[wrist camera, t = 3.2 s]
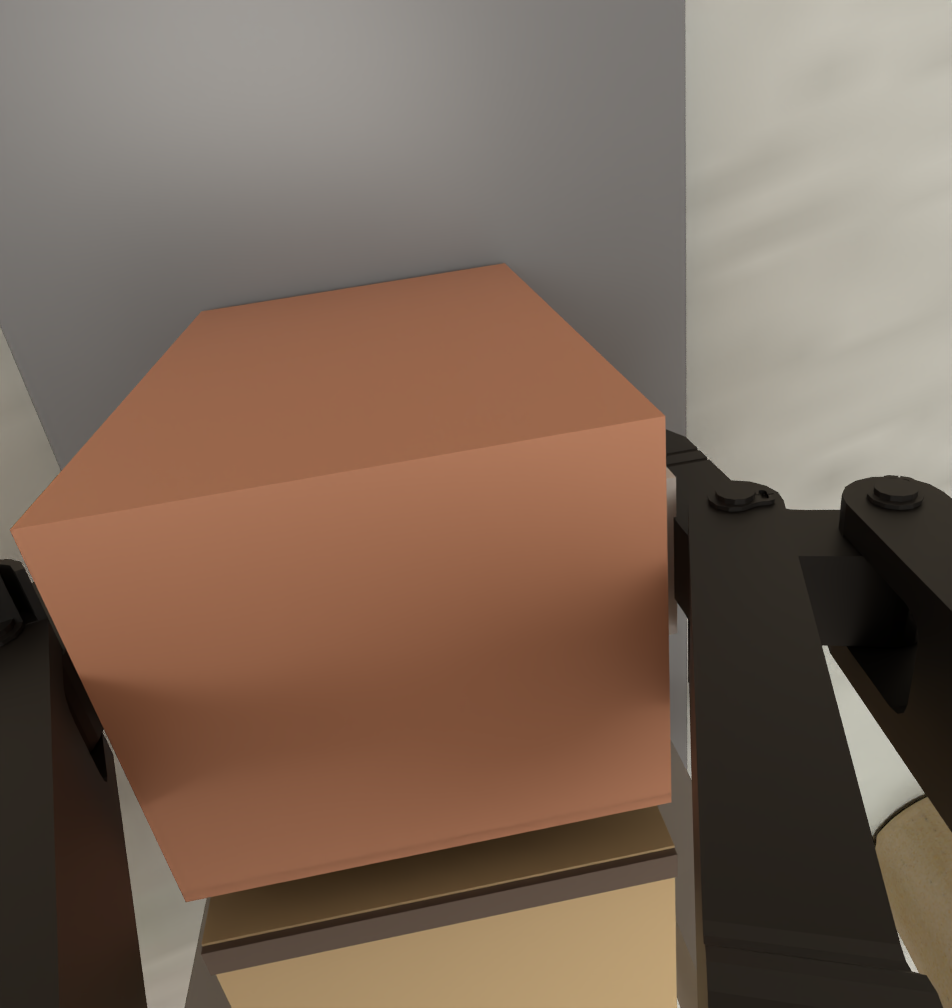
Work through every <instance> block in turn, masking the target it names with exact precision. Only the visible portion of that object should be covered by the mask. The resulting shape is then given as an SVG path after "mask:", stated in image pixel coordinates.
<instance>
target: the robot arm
mask: <svg viewBox="0 0 952 1008" xmlns="http://www.w3.org/2000/svg"><path fill="white" fill-rule="evenodd" d="M666 489H667V552H668V614H669V635H671V634H676V633H677V603H678V604H679V606H680V607H681V609H682V610H683V612H684V614H685V615H686V617H687V618H688V682H689V693H690V732H691V770H692V808H693V846H694V885H695V923H696V961H697V999H698V1008H943V1006H942V1003H941V1000H940V998H939V995H938V993H937V991H936V989H935V988H934V986H933V985H932V983H931V981H930V980H929V978H928V977H927V975H924V974H920V973H916V972H912V971H911V969H910V967H909V966H908V964H907V962H906V960H905V957H904V954H903V951H902V948H901V945H900V941H899V937H898V933H897V930H896V926H895V922H894V918H893V914H892V911H891V907H890V903H889V899H888V895H887V892H886V888H885V884H884V880H883V876H882V873H881V869H880V865H879V861H878V857H877V854H876V850H875V846H874V842H873V838H872V835H871V831H870V827H869V823H868V819H867V816H866V812H865V808H864V804H863V800H862V797H861V793H860V789H859V785H858V781H857V778H856V774H855V770H854V766H853V762H852V759H851V755H850V751H849V747H848V743H847V740H846V736H845V732H844V728H843V724H842V721H841V717H840V713H839V709H838V705H837V702H836V698H835V694H834V690H833V686H832V683H831V679H830V675H829V671H828V667H827V664H826V660H825V656H824V652H823V648H822V645H826V646H828V648H829V651H830V654H831V655H832V656H833V658H834V659H835V661H836V662H837V664H838V665H839V667H840V668H841V670H842V671H843V673H844V674H845V676H846V677H847V679H848V680H849V682H850V683H851V685H852V686H853V687H854V689H855V690H856V692H857V693H858V695H859V696H860V698H861V699H862V701H863V702H864V704H865V705H866V707H867V708H868V710H869V711H870V713H871V714H872V716H873V717H874V719H875V720H876V721H877V723H878V724H879V726H880V727H881V729H882V730H883V732H884V733H885V735H886V736H887V738H888V739H889V741H890V742H891V744H892V745H893V747H894V748H895V750H896V751H897V752H898V754H899V755H900V757H901V758H902V760H903V761H904V763H905V764H906V766H907V767H908V769H909V770H910V772H911V773H912V775H913V776H914V778H915V779H916V781H917V782H918V783H919V785H920V786H921V788H922V789H923V791H924V792H925V794H926V795H927V797H928V798H929V800H930V801H931V803H932V804H933V806H934V807H935V809H936V810H937V812H938V813H939V814H940V816H941V817H942V819H943V820H944V822H945V823H946V825H947V826H948V828H949V829H950V831H951V832H952V498H950V497H949V496H948V495H947V494H945V493H944V492H943V491H941V490H939V489H937V488H936V487H934V486H932V485H930V484H927V483H924V482H920V481H917V480H914V479H912V478H909V477H903V476H901V477H900V478H899V477H898V476H892V475H887V476H884V477H870V478H866V479H862V480H857V481H855V482H853V483H851V484H849V485H848V486H846V487H845V489H844V491H843V493H842V499H841V509H840V510H790V509H786V508H785V504H784V500H783V499H782V498H781V496H780V495H779V493H778V492H776V491H774V490H773V489H771V488H769V487H767V486H765V485H761V484H757V483H753V482H747V481H731V480H730V479H729V478H728V477H727V476H726V475H725V474H724V473H723V472H722V471H721V470H720V469H719V468H717V467H716V466H715V465H714V464H713V463H712V462H711V461H710V460H707V457H706V456H705V455H704V454H703V453H702V452H701V451H700V450H699V451H698V450H697V447H696V446H695V445H693V444H692V443H691V442H690V441H689V440H688V439H687V438H686V437H685V436H682V435H680V434H677V433H675V432H672V431H669V430H667V429H666ZM103 730H104V728H103V726H102V724H101V722H100V720H99V717H98V715H97V713H96V711H95V709H94V707H93V705H92V703H91V700H90V698H89V696H88V694H87V692H86V690H85V688H84V686H83V684H82V681H81V679H80V677H79V675H78V673H77V671H76V669H75V667H74V665H73V662H72V660H71V658H70V656H69V654H68V652H67V650H66V648H65V645H64V643H63V641H62V639H61V637H60V635H59V633H58V631H57V629H56V626H55V624H54V622H53V620H52V618H51V616H50V614H49V612H48V610H47V607H46V605H45V603H44V601H43V599H42V597H41V595H40V593H39V591H38V588H37V586H36V584H35V582H33V583H31V581H30V579H29V577H28V575H27V573H26V571H25V568H24V567H23V565H22V563H21V562H19V561H15V560H11V559H4V560H0V1008H147V1002H146V995H145V987H144V980H143V972H142V965H141V958H140V950H139V943H138V935H137V928H136V921H135V913H134V906H133V898H132V891H131V884H130V876H129V869H128V861H127V854H126V847H125V839H124V832H123V824H122V817H121V810H120V802H119V795H118V787H117V780H116V773H115V765H114V758H113V754H112V751H111V749H110V747H109V745H108V743H107V741H106V739H105V737H104V735H103V733H102V732H103Z"/></svg>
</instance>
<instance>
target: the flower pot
mask: <svg viewBox="0 0 952 1008" xmlns="http://www.w3.org/2000/svg"><path fill="white" fill-rule="evenodd" d="M875 850H876V854H877V857H878V861H879V865H880V869H881V873H882V876H883V880H884V884H885V888H886V892H887V895H888V899H889V903H890V907H891V911H892V914H893V918H894V922H895V926H896V929H897V931H898V933H899V935H900V937H901V939H902V941H903V943H904V945H905V946H906V948H907V950H908V952H909V954H910V956H911V958H912V960H913V962H914V964H915V966H916V968H917V970H918V972H919V973H920V974H924V975H927V977H928V978H929V980H930V981H931V983H932V985H933V986H934V988H935V989H936V991H937V993H938V995H939V998H940V1000H941V1003H942V1006H943V1008H952V832H951V831H950V829H949V828H948V826H947V825H946V823H945V822H944V820H943V819H942V817H941V816H940V814H939V813H938V812H937V810H936V809H935V807H934V806H933V804H932V803H931V801H930V800H929V798H928V797H926V798H924V799H922V800H920V801H918V802H916V803H914V804H913V805H911V806H910V807H908V808H906V809H905V810H904V811H902V812H901V813H900V814H898V815H897V816H896V817H894V818H893V819H892V820H891V821H890V822H889V823H888V824H886V826H885V827H884V828H883V829H882V830H881V831H880V832H879V833H878V835H877V840H876V847H875Z"/></svg>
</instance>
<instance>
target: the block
mask: <svg viewBox="0 0 952 1008" xmlns="http://www.w3.org/2000/svg"><path fill="white" fill-rule="evenodd" d="M10 531H11V533H12V536H13V538H14V540H15V542H16V544H17V546H18V548H19V550H20V552H21V555H22V557H23V559H24V561H25V563H26V565H27V567H28V569H29V571H30V574H31V576H32V578H33V580H34V582H35V584H36V586H37V588H38V591H39V593H40V595H41V597H42V599H43V601H44V603H45V605H46V607H47V610H48V612H49V614H50V616H51V618H52V620H53V622H54V624H55V626H56V629H57V631H58V633H59V635H60V637H61V639H62V641H63V643H64V645H65V648H66V650H67V652H68V654H69V656H70V658H71V660H72V662H73V665H74V667H75V669H76V671H77V673H78V675H79V677H80V679H81V681H82V684H83V686H84V688H85V690H86V692H87V694H88V696H89V698H90V700H91V703H92V705H93V707H94V709H95V711H96V713H97V715H98V717H99V720H100V722H101V724H102V726H103V728H104V730H105V732H106V734H107V736H108V739H109V741H110V743H111V745H112V747H113V749H114V751H115V753H116V755H117V758H118V760H119V762H120V764H121V766H122V768H123V770H124V772H125V774H126V777H127V779H128V781H129V783H130V785H131V787H132V789H133V791H134V794H135V796H136V798H137V800H138V802H139V804H140V806H141V808H142V810H143V813H144V815H145V817H146V819H147V821H148V823H149V825H150V827H151V829H152V832H153V834H154V836H155V838H156V840H157V842H158V844H159V846H160V848H161V851H162V853H163V855H164V857H165V859H166V861H167V863H168V865H169V868H170V870H171V872H172V874H173V876H174V878H175V880H176V882H177V884H178V887H179V889H180V891H181V893H182V895H183V897H184V899H185V901H186V902H189V901H194V900H199V899H204V898H208V897H213V896H218V895H223V894H228V893H233V892H238V891H243V890H247V889H252V888H257V887H262V886H267V885H272V884H277V883H282V882H286V881H291V880H296V879H301V878H306V877H311V876H316V875H320V874H325V873H330V872H335V871H340V870H345V869H350V868H355V867H359V866H364V865H369V864H374V863H379V862H384V861H389V860H393V859H398V858H403V857H408V856H413V855H418V854H423V853H428V852H432V851H437V850H442V849H447V848H452V847H457V846H462V845H466V844H471V843H476V842H481V841H486V840H491V839H496V838H501V837H505V836H510V835H515V834H520V833H525V832H530V831H535V830H539V829H544V828H549V827H554V826H559V825H564V824H569V823H574V822H578V821H583V820H588V819H593V818H598V817H603V816H608V815H612V814H617V813H622V812H627V811H632V810H637V809H642V808H647V807H651V806H656V805H661V804H666V803H671V739H670V677H669V614H668V552H667V489H666V426H665V415H664V414H663V413H662V412H661V411H659V410H658V409H657V408H656V407H655V406H654V405H653V404H652V403H651V402H650V401H649V400H648V399H647V398H646V397H645V396H644V395H643V394H642V393H641V392H640V391H638V390H637V389H636V388H635V387H634V386H633V385H632V384H631V383H630V382H629V381H628V380H627V379H626V378H625V377H624V376H623V375H622V374H621V373H620V372H619V371H617V370H616V369H615V368H614V367H613V366H612V365H611V364H610V363H609V362H608V361H607V360H606V359H605V358H604V357H603V356H602V355H601V354H600V353H599V352H598V351H596V350H595V349H594V348H593V347H592V346H591V345H590V344H589V343H588V342H587V341H586V340H585V339H584V338H583V337H582V336H581V335H580V334H579V333H578V332H576V331H575V330H574V329H573V328H572V327H571V326H570V325H569V324H568V323H567V322H566V321H565V320H564V319H563V318H562V317H561V316H560V315H559V314H558V313H557V312H555V311H554V310H553V309H552V308H551V307H550V306H549V305H548V304H547V303H546V302H545V301H544V300H543V299H542V298H541V297H540V296H539V295H538V294H537V293H536V292H534V291H533V290H532V289H531V288H530V287H529V286H528V285H527V284H526V283H525V282H524V281H523V280H522V279H521V278H520V277H519V276H518V275H517V274H516V273H515V272H513V271H512V270H511V269H510V268H509V267H508V266H507V265H506V264H505V263H503V264H496V265H490V266H484V267H478V268H471V269H465V270H459V271H452V272H446V273H440V274H434V275H427V276H421V277H415V278H408V279H402V280H396V281H389V282H383V283H377V284H371V285H364V286H358V287H352V288H345V289H339V290H333V291H327V292H320V293H314V294H308V295H301V296H295V297H289V298H282V299H276V300H270V301H264V302H257V303H251V304H245V305H238V306H232V307H226V308H220V309H213V310H207V311H201V312H200V314H199V315H198V316H197V317H196V318H195V319H194V320H193V322H192V323H191V324H190V325H189V326H188V327H187V328H186V329H185V331H184V332H183V333H182V334H181V335H180V336H179V337H178V339H177V340H176V341H175V342H174V343H173V344H172V345H171V347H170V348H169V349H168V350H167V351H166V352H165V353H164V355H163V356H162V357H161V358H160V359H159V360H158V361H157V363H156V364H155V365H154V366H153V367H152V368H151V369H150V371H149V372H148V373H147V374H146V375H145V376H144V377H143V379H142V380H141V381H140V382H139V383H138V384H137V385H136V387H135V388H134V389H133V390H132V391H131V392H130V393H129V394H128V396H127V397H126V398H125V399H124V400H123V401H122V402H121V404H120V405H119V406H118V407H117V408H116V409H115V410H114V412H113V413H112V414H111V415H110V416H109V417H108V418H107V420H106V421H105V422H104V423H103V424H102V425H101V426H100V428H99V429H98V430H97V431H96V432H95V433H94V434H93V436H92V437H91V438H90V439H89V440H88V441H87V442H86V444H85V445H84V446H83V447H82V448H81V449H80V450H79V452H78V453H77V454H76V455H75V456H74V457H73V458H72V460H71V461H70V462H69V463H68V464H67V465H66V466H65V467H64V469H63V470H62V471H61V472H60V473H59V474H58V475H57V477H56V478H55V479H54V480H53V481H52V482H51V483H50V485H49V486H48V487H47V488H46V489H45V490H44V491H43V493H42V494H41V495H40V496H39V497H38V498H37V499H36V501H35V502H34V503H33V504H32V505H31V506H30V507H29V509H28V510H27V511H26V512H25V513H24V514H23V515H22V517H21V518H20V519H19V520H18V521H17V522H16V523H15V525H14V526H13V527H12V528H11V529H10Z"/></svg>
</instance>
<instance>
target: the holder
mask: <svg viewBox="0 0 952 1008" xmlns="http://www.w3.org/2000/svg"><path fill="white" fill-rule="evenodd" d="M503 263H505V264H506V265H507V266H508V267H509V268H510V269H511V270H512V271H513V272H515V273H516V274H517V275H518V276H519V277H520V278H521V279H522V280H523V281H524V282H525V283H526V284H527V285H528V286H529V287H530V288H531V289H532V290H533V291H534V292H536V293H537V294H538V295H539V296H540V297H541V298H542V299H543V300H544V301H545V302H546V303H547V304H548V305H549V306H550V307H551V308H552V309H553V310H554V311H555V312H557V313H558V314H559V315H560V316H561V317H562V318H563V319H564V320H565V321H566V322H567V323H568V324H569V325H570V326H571V327H572V328H573V329H574V330H575V331H576V332H578V333H579V334H580V335H581V336H582V337H583V338H584V339H585V340H586V341H587V342H588V343H589V344H590V345H591V346H592V347H593V348H594V349H595V350H596V351H598V352H599V353H600V354H601V355H602V356H603V357H604V358H605V359H606V360H607V361H608V362H609V363H610V364H611V365H612V366H613V367H614V368H615V369H616V370H617V371H619V372H620V373H621V374H622V375H623V376H624V377H625V378H626V379H627V380H628V381H629V382H630V383H631V384H632V385H633V386H634V387H635V388H636V389H637V390H638V391H640V392H641V393H642V394H643V395H644V396H645V397H646V398H647V399H648V400H649V401H650V402H651V403H652V404H653V405H654V406H655V407H656V408H657V409H658V410H659V411H661V412H662V413H663V414H664V415H665V426H666V429H667V430H669V431H672V432H675V433H677V434H680V435H682V436H685V437H686V141H685V0H0V326H1V329H2V331H3V334H4V336H5V338H6V341H7V343H8V346H9V348H10V350H11V353H12V355H13V357H14V360H15V362H16V365H17V367H18V369H19V372H20V374H21V376H22V379H23V381H24V384H25V386H26V388H27V391H28V393H29V396H30V398H31V400H32V403H33V405H34V407H35V410H36V412H37V415H38V417H39V419H40V422H41V424H42V426H43V429H44V431H45V434H46V436H47V438H48V441H49V443H50V446H51V448H52V450H53V453H54V455H55V457H56V460H57V462H58V465H59V467H60V469H61V471H62V470H63V469H64V467H65V466H66V465H67V464H68V463H69V462H70V461H71V460H72V458H73V457H74V456H75V455H76V454H77V453H78V452H79V450H80V449H81V448H82V447H83V446H84V445H85V444H86V442H87V441H88V440H89V439H90V438H91V437H92V436H93V434H94V433H95V432H96V431H97V430H98V429H99V428H100V426H101V425H102V424H103V423H104V422H105V421H106V420H107V418H108V417H109V416H110V415H111V414H112V413H113V412H114V410H115V409H116V408H117V407H118V406H119V405H120V404H121V402H122V401H123V400H124V399H125V398H126V397H127V396H128V394H129V393H130V392H131V391H132V390H133V389H134V388H135V387H136V385H137V384H138V383H139V382H140V381H141V380H142V379H143V377H144V376H145V375H146V374H147V373H148V372H149V371H150V369H151V368H152V367H153V366H154V365H155V364H156V363H157V361H158V360H159V359H160V358H161V357H162V356H163V355H164V353H165V352H166V351H167V350H168V349H169V348H170V347H171V345H172V344H173V343H174V342H175V341H176V340H177V339H178V337H179V336H180V335H181V334H182V333H183V332H184V331H185V329H186V328H187V327H188V326H189V325H190V324H191V323H192V322H193V320H194V319H195V318H196V317H197V316H198V315H199V314H200V312H201V311H207V310H213V309H220V308H226V307H232V306H238V305H245V304H251V303H257V302H264V301H270V300H276V299H282V298H289V297H295V296H301V295H308V294H314V293H320V292H327V291H333V290H339V289H345V288H352V287H358V286H364V285H371V284H377V283H383V282H389V281H396V280H402V279H408V278H415V277H421V276H427V275H434V274H440V273H446V272H452V271H459V270H465V269H471V268H478V267H484V266H490V265H496V264H503ZM669 677H670V739H671V803H666V804H661V805H656V806H651V807H647V808H642V809H637V810H632V811H627V812H622V813H617V814H612V815H608V816H603V817H598V818H593V819H588V820H583V821H578V822H574V823H569V824H564V825H559V826H554V827H549V828H544V829H539V830H535V831H530V832H525V833H520V834H515V835H510V836H505V837H501V838H496V839H491V840H486V841H481V842H476V843H471V844H466V845H462V846H457V847H452V848H447V849H442V850H437V851H432V852H428V853H423V854H418V855H413V856H408V857H403V858H398V859H393V860H389V861H384V862H379V863H374V864H369V865H364V866H359V867H355V868H350V869H345V870H340V871H335V872H330V873H325V874H320V875H316V876H311V877H306V878H301V879H296V880H291V881H286V882H282V883H277V884H272V885H267V886H262V887H257V888H252V889H247V890H243V891H238V892H233V893H228V894H223V895H218V896H213V897H208V898H207V900H206V904H205V909H204V914H203V919H202V924H201V929H200V934H199V939H198V944H197V949H196V954H195V959H194V964H193V969H192V974H191V979H190V984H189V989H188V994H187V998H186V1003H185V1008H677V999H678V1002H679V1005H680V1007H681V1008H698V999H697V961H696V923H695V885H694V846H693V808H692V780H691V778H690V776H689V774H688V772H687V617H686V615H685V614H684V612H683V610H682V609H681V607H680V606H679V604H678V603H677V633H676V634H671V635H669Z"/></svg>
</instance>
